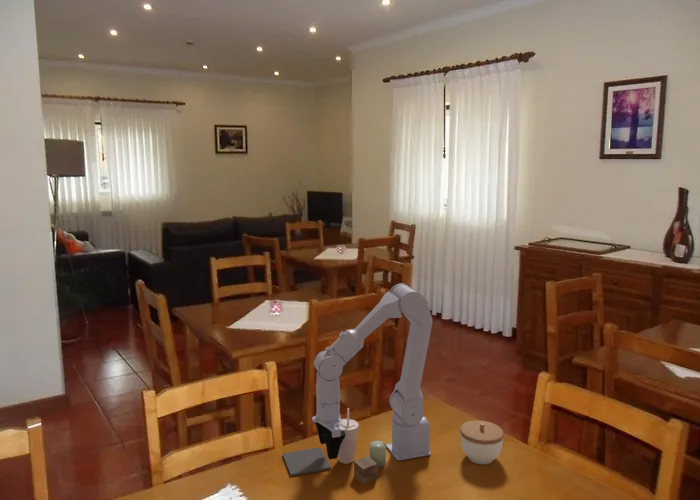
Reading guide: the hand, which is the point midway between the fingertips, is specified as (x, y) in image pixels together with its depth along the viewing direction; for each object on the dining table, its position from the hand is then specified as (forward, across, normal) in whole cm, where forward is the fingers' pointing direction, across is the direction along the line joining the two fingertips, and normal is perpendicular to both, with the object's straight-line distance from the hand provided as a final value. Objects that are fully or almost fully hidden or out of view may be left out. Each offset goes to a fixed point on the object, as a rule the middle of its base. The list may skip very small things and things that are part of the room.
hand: (328, 450), depth 140 cm
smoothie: (+4, 0, +5) cm, 6 cm away
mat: (+3, -2, -5) cm, 7 cm away
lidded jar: (+4, +10, +38) cm, 39 cm away
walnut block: (+3, +9, +7) cm, 12 cm away
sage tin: (+3, +4, +12) cm, 13 cm away
